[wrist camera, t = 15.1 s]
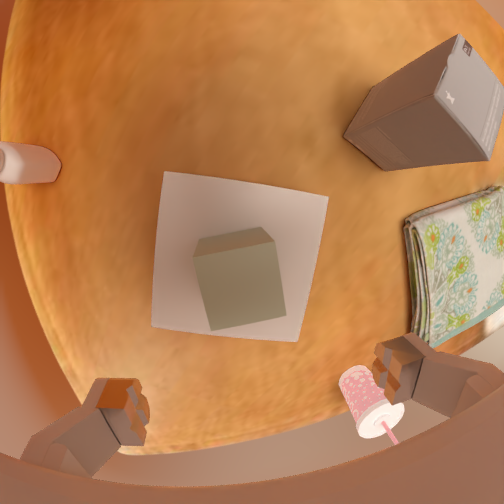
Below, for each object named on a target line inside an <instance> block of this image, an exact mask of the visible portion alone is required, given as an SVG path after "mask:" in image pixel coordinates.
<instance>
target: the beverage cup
mask: <svg viewBox="0 0 504 504" xmlns="http://www.w3.org/2000/svg"><path fill="white" fill-rule="evenodd" d="M339 386H340V389H341V391H342V393H343V395H344V397H345V400H346V402H347V404H348V406H349V408H350V411H351V413H352V415H353V417H354V419H355V422H356V424H357V425H356V428H357V431H358V433H359V435H360V436H361V437H363V438H374V437H377V436H380V435H382V434H384V433H385V432H387V433H388V435H389V436H390V438H391V439H392V441H393V443H394V444H395V445H396V444H398V443H399V442H398V441H397V439H396V438H395V436H394V435H393V433H392V432H391V430H390V429H391V428H393V427H394V426H395V425H396V424H397V423H398V422H399V420H400V419H401V418H402V416H403V413H404V405H403V404H402V403H398V404H395V405H393V406H392V405H391V404H390V402H389V401H388V400H387V398H386V397H385V396H384V390H385V389H382V388H380V387H378V386H377V385H376V383H375V381H374V379H373V375H372V373H371V372H370V371H369V369H368V368H366V367H365V366H362V365H358V366H353V367H351V368H350V369H348V370H347V371H345V372H344V373H343V374H342V376H341V378H340V379H339Z"/></svg>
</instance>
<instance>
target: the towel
mask: <svg viewBox="0 0 504 504" xmlns="http://www.w3.org/2000/svg"><path fill="white" fill-rule="evenodd" d="M405 222H406V225H405V226H404V228H403V231H404V234H405V242H406V249H407V256H408V267H409V279H410V290H411V298H412V314H413V319H412V323H411V332H412V333H415V334H416V335H417V336H419V337H420V338H421V339H422V340H423V341H425V342H426V343H428V342H429V343H428V345H429V346H430V347H431V348H435V347H437V346H438V345H440V344H442V343H443V342H445V341H446V340H448V339H450V338H451V337H453V336H455V335H457V334H459V333H460V332H462V331H464V330H466V329H468V328H470V327H471V326H473V325H475V324H477V323H479V322H480V321H482V320H483V319H485V318H487V317H488V316H490V315H491V314H493V313H494V312H495V311H497V310H498V309H500V308H501V307H502V306H503V305H504V187H502V186H498V187H497V186H494V187H490V188H488V190H486V191H479V192H476V193H473V194H469V195H467V196H463V197H460V198H457V199H454V200H452V201H448V202H445V203H442V204H439V205H436V206H432V207H429V208H426V209H423V210H421V211H418V212H416V213H414V214H412V215H410V217H408V218H406V219H405Z"/></svg>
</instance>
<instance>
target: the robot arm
mask: <svg viewBox="0 0 504 504" xmlns="http://www.w3.org/2000/svg"><path fill="white" fill-rule="evenodd" d="M374 354H375V355H376V356H377V358H376V359H375V361H374V362H373V365H372V375H373V379H374V381H375V383H376V385H377V386H378V387H380V388H382V389H385V390H384V396H385V397H386V398H387V400H388V401H389V402H390V404H391V405H392V406H393V405H395V404H398V403H401V402H404V401H406V400H409V399H412V400H414V401H416V402H418V403H420V404H422V405H424V406H426V407H429V408H430V409H433V410H435V411H437V412H439V413H441V414H443V415H445V416H448V417H450V419H448V420H446V421H444V422H442V423H440V424H439V425H437V426H435V427H433V428H431V429H429V430H427V431H425V432H423V433H420V434H418V435H416V436H414V437H412V438H410V439H407V440H405V441H403V442H401V443H398V444H396V445H393V446H391V447H388V448H386V449H383V450H381V451H378V452H375V453H373V454H370V455H367V456H364V457H361V458H358V459H355V460H352V461H349V462H345V463H342V464H339V465H336V466H332V467H328V468H324V469H320V470H317V471H313V472H308V473H304V474H299V475H295V476H289V477H284V478H279V479H272V480H266V481H260V482H251V483H243V484H233V485H220V486H199V487H168V486H148V485H134V484H125V483H117V482H110V481H103V480H97V479H92V476H93V475H94V474H95V473H96V472H97V471H98V470H99V469H100V468H101V467H102V466H103V465H104V464H105V463H106V462H107V460H109V459H110V458H111V457H112V455H113V454H114V453H115V452H116V451H117V450H118V449H119V448H120V447H121V446H120V445H124V446H144V442H145V438H146V433H147V432H146V429H145V427H144V426H145V425H146V424H148V423H149V418H150V409H149V405H148V401H147V399H146V397H145V396H144V395H142V394H141V390H142V386H141V384H140V382H139V380H138V379H136V378H97V379H95V381H94V383H93V385H92V387H91V389H90V391H89V393H88V395H87V397H86V399H85V401H84V403H83V405H82V407H77V408H75V409H74V410H72V411H71V412H69V413H68V414H66V415H64V416H63V417H61V418H60V419H58V420H57V421H55V422H54V423H52V424H50V425H49V426H47V427H46V428H44V429H43V430H41V431H39V432H38V433H36V434H35V435H33V436H32V437H31V439H30V440H29V442H28V444H27V446H26V448H25V450H24V452H23V454H22V456H21V458H20V460H19V459H16V458H13V457H11V456H8V455H6V454H3V453H0V504H504V373H503V372H502V371H501V370H499V369H498V368H497V367H496V366H494V365H493V364H491V363H487V362H482V361H477V360H473V359H469V358H465V357H461V356H457V355H452V354H448V353H444V352H438V353H437V352H436V351H435V350H434V349H433V348H431V347H430V346H429V345H428V344H427V343H426V342H425V341H423V340H422V339H421V338H420V337H419V336H417V335H416V334H415V333H412V332H411V333H408V334H405V335H402V336H400V337H397V338H394V339H391V340H387V341H384V342H380V343H377V344H376V347H375V351H374Z"/></svg>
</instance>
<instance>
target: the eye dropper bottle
mask: <svg viewBox="0 0 504 504" xmlns="http://www.w3.org/2000/svg"><path fill="white" fill-rule="evenodd" d="M60 169H61V162H60V161H59V159H58V158H57V156H56V155H55V154H54V153H53V152H52V151H50V150H49V149H47V148H45V147H42V146H36V145H29V144H22V143H14V142H5V141H0V181H1V182H3V183H7V184H30V183H47V182H54V181H55V180H56V178H57V176H58V173H59V171H60Z"/></svg>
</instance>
